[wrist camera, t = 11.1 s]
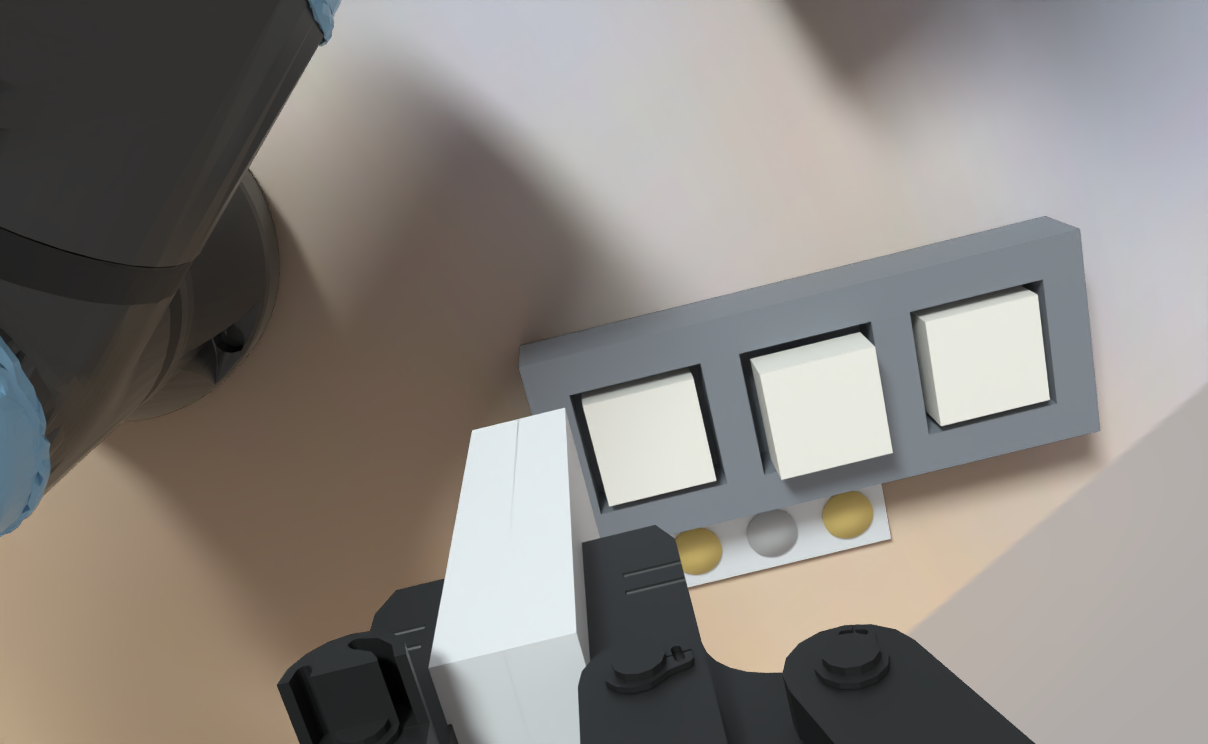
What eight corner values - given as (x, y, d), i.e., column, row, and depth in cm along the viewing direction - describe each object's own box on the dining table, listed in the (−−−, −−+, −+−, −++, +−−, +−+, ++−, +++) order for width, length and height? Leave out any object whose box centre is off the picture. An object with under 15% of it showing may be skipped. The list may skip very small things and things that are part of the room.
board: (570, 526, 55) (572, 558, 52) (520, 345, 52) (518, 367, 49) (1066, 406, 54) (1100, 430, 51) (1045, 216, 51) (1080, 228, 48)
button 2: (770, 459, 51) (781, 479, 49) (749, 358, 49) (759, 374, 47) (877, 434, 51) (892, 452, 49) (859, 332, 49) (874, 346, 47)
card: (666, 588, 56) (667, 594, 56) (649, 521, 55) (650, 527, 55) (888, 535, 56) (892, 540, 56) (876, 466, 55) (880, 471, 54)
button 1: (606, 485, 53) (609, 506, 50) (580, 389, 51) (582, 406, 49) (709, 461, 53) (716, 480, 50) (686, 363, 51) (693, 379, 49)
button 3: (923, 408, 52) (940, 426, 50) (908, 309, 51) (925, 322, 48) (1027, 383, 52) (1049, 399, 50) (1015, 282, 51) (1037, 294, 48)
